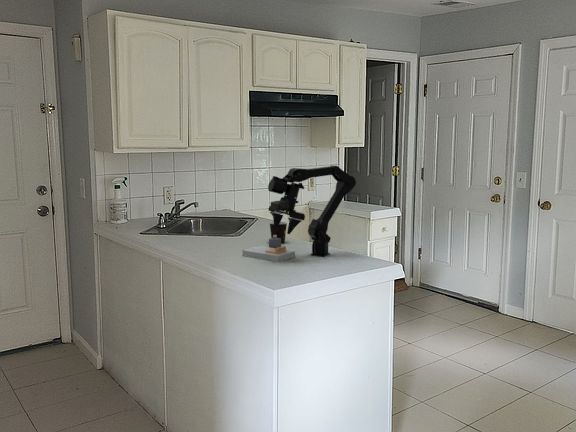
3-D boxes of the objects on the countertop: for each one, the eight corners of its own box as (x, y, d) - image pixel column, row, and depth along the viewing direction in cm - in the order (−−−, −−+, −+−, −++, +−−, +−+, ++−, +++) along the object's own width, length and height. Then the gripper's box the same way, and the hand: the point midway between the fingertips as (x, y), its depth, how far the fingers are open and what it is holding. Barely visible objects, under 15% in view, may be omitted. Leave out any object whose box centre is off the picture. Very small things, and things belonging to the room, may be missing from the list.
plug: (281, 251, 256) (281, 235, 255) (275, 252, 253) (275, 236, 252) (274, 250, 259) (274, 234, 258) (268, 251, 256) (268, 235, 254)
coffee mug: (275, 240, 282) (275, 221, 281) (290, 242, 278) (290, 222, 276) (262, 244, 272) (262, 224, 271) (277, 246, 268) (277, 225, 267)
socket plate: (294, 256, 245) (294, 251, 244) (278, 261, 235) (278, 256, 235) (259, 251, 256) (259, 245, 256) (242, 255, 247) (242, 250, 246)
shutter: (286, 251, 244) (286, 246, 243) (277, 253, 238) (277, 248, 238) (274, 249, 247) (274, 244, 247) (265, 251, 242) (265, 247, 242)
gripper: (263, 189, 241) (254, 224, 242) (290, 196, 227) (280, 233, 227) (282, 194, 248) (274, 228, 249) (309, 201, 234) (300, 237, 235)
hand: (281, 231), depth 240 cm, fingers open, 9 cm apart
